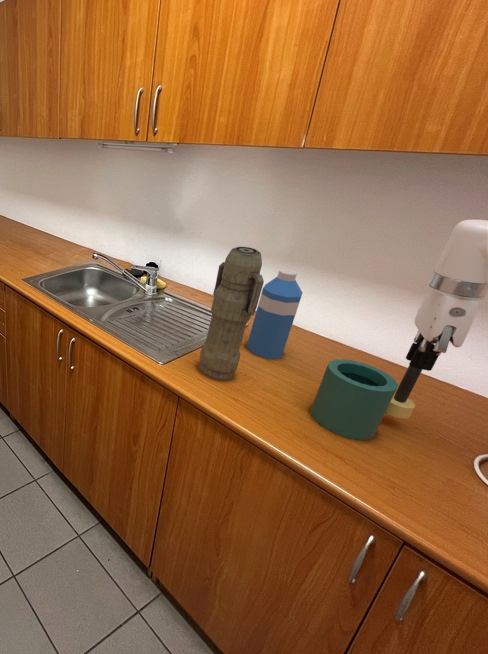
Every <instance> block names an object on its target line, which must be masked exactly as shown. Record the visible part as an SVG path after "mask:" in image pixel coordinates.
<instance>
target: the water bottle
mask: <svg viewBox="0 0 488 654" xmlns="http://www.w3.org/2000/svg"><path fill="white" fill-rule="evenodd" d="M297 275H298V272H296V271H295V270H291V269H287V268H285V269H284V268H282V269H281V268H280V269H279V271H278V273H277V276H276V277H274V278H273V279H271V280H270V281H268V282H267V283H265V284H264V285H263V287H262V290H261V294H260V297H259V301H258V304H257V308H256V310H255V313H254V319H253V321H252V325H251V328H250V333H249V335H248V339H247V343H246V346H245V347H246V349H247V350H249V352H251V353H252V354H253V355H255V356H258V357H262V358H265V359H268V360H272V359H273V360H274V359H277V360H278V359H282V357H283V354H284V352H285V349H286V346H287V342H288V339H289V337H290V333H291V330H292V326H293V324H294V321H295V318H296V314H297V311H298V308H299V304H300V302H301V300H302V296H303V290H302V288H301V287H300V285H299V283H298V281H297V280H296V278H297Z"/></svg>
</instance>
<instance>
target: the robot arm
mask: <svg viewBox="0 0 488 654" xmlns="http://www.w3.org/2000/svg"><path fill="white" fill-rule="evenodd" d="M426 288H427V289H428V292H427V293H426V295H425V297H424V298H423V300H422V302H421V304H420V306H419V308H418V310H417V313H416V314H415V318H414V325H415V327H416V328H417V332H416V334H415V336H414V338H413V342H412V344H411V345H410V348H409V349H408V352H407V354H406V355H405V359H406V360H407V361H409V364H408V366H409V365H410V366H411V367H415V368H419V369H423V370H422V371H429V372H430V371H432V370H433V368H434V366H435V364H436V362H437V360H438V358H439V357H440V356H441V354H446V353H447V351H448V348H449V345H450V344H451V345H452V347H455V348H460V347H463V344H464V342H465V341H466V338H467V336H468V335H469V331H470V329H471V327H472V325H473V324H474V320H475V319H476V315H477V313H478V309H479V305H480V301H482V300H484V299H485V298H486V296H487V294H488V220H486V219H464V220H462V221H459V222H458V223H456V224H455V226H454V227H453V229H452V231H451V233H450V235H449V238H448V240H447V242H446V244H445V246H444V249H443V250H442V252H441V255H440V257H439V258H438V261H437V264H436V265H435V267H434V270H433V272H432V273H431V275H430V278H429V280H428V282H427V284H426ZM421 342H422V344H421V346H420V348H419V349H418V347H419V344H420V343H421ZM429 342H430V343H432V344H429ZM428 344H429V345H428Z"/></svg>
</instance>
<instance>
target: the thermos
mask: <svg viewBox="0 0 488 654" xmlns="http://www.w3.org/2000/svg"><path fill="white" fill-rule="evenodd" d="M262 266H263V259H262V252H260V251H259V250H258V249H256V248H253V247H249V246H236V247H232V248H231V249H230V251H229V253H228V254H227V255H226V257H225V260H224V261H223V262H221V263H220V264H219V265H218V270H217V274H216V275H217V276H216V279H215V285H214V290H213V293H212V295H213V300H212V305H211V308H210V312H211V318H210V322H209V326H208V331H207V335H206V338H205V342H204V343H203V344H202V346H201V350H200V355H199V359H198V360H199V363H198V367H197V368H198V371H199V372H200V373H201V374H202V375H204V376H205V377H206V378H209V379H211V380H214V381H219V382H227V381H228V382H229V381H231V380H233V379H234V378H235V373H236V372H237V370H238V366H239V362H240V359H241V351H240V349H241V345H242V342H243V338H244V334H245V331H246V327H247V324H248V322H249V321H250V320H251V317H253V316H255V314H256V311H257V307H258V304H259V300H260V297H261V293H262V290H263V287H264V283H265V281H264V278H263V275H262V274H261V270H262Z"/></svg>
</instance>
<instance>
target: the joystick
mask: <svg viewBox="0 0 488 654" xmlns="http://www.w3.org/2000/svg"><path fill="white" fill-rule="evenodd" d="M421 344H422V342H421V343H420V344H419V347H418V349H419V348H420V346H421ZM429 344H432V343H430V342H429ZM429 344H428V345H429ZM422 371H424V370H423V369H419V368H415V367H411V366H410V365H409V364H408V367H407V369H406V371H405V373H404V375H403V376H402V378H401V381H400V383H399V384H398V387H397V389H396V391H395V394H394V396H393V398H392V400H391V402H390V404H389V406H388V408H387V410H386V412H385V414H387V415H389V416H391V417H394V418H397V419H402V420H405V419H409V418H410V416H411V415H412V413H413V411H414V409H415V408H416V404H415V402H414V401H413V400H411V399H409V397H410V395H411V393H412V391H413V389H414V387H415V385H416V383H417V381H418V379H419V377H420V376H421V373H422Z"/></svg>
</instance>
